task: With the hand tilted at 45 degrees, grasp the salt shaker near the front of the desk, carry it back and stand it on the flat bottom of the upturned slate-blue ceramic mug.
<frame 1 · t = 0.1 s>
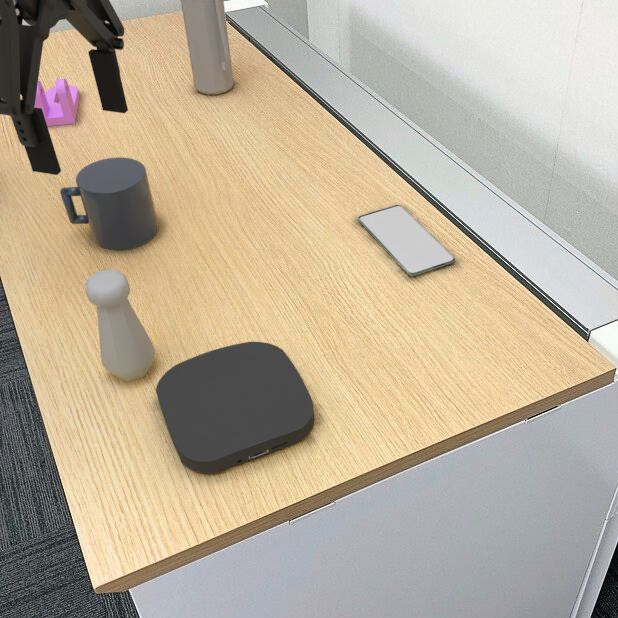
hand: (83, 139, 77), 22 cm above the table, tool pointing down, fingers open, 13 cm apart
mug: (126, 231, 103), on the table
media streaming box: (236, 412, 79), on the table
water bottle: (217, 90, 135), on the table
bracket: (62, 109, 130), on the table
salt shaker: (132, 369, 83), on the table
smartphone: (404, 241, 100), on the table
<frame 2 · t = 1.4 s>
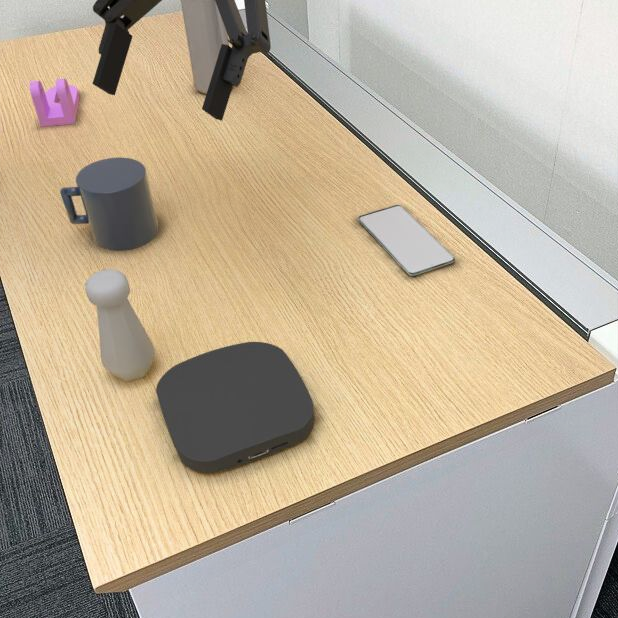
hand: (156, 102, 74), 26 cm above the table, tool tilted 45°, fingers open, 13 cm apart
nothing on the table moved.
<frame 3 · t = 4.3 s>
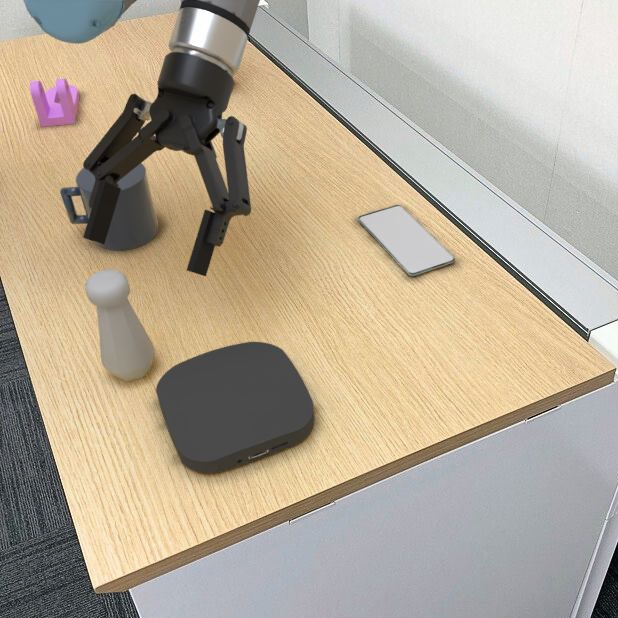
hand: (143, 257, 79), 12 cm above the table, tool tilted 45°, fingers open, 13 cm apart
nothing on the table moved.
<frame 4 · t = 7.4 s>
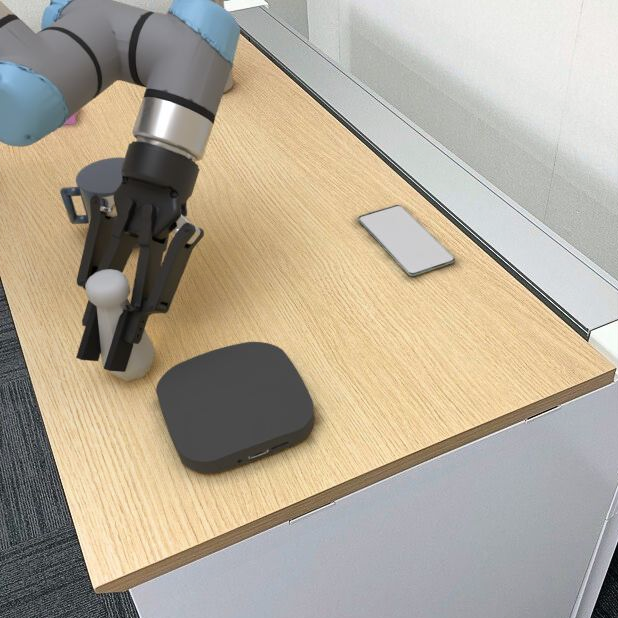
hand: (100, 364, 78), 4 cm above the table, tool tilted 45°, fingers closed on salt shaker, 3 cm apart
salt shaker: (132, 369, 83), on the table, touching gripper
everything else where it was.
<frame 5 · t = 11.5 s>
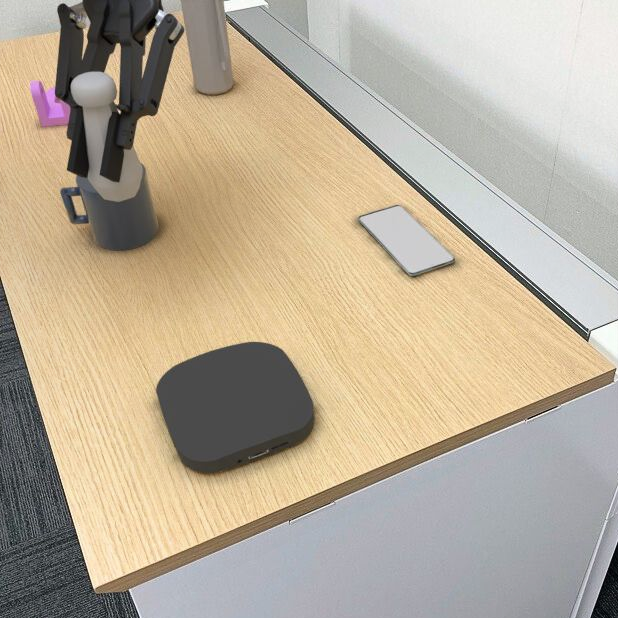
hand: (93, 176, 76), 20 cm above the table, tool tilted 45°, fingers closed on salt shaker, 3 cm apart
salt shaker: (120, 193, 81), point 15 cm above the table, touching gripper
everything else where it was.
when the fingers open (13 cm above the table, at t = 16.1 s): salt shaker stays where it is, resting on mug.
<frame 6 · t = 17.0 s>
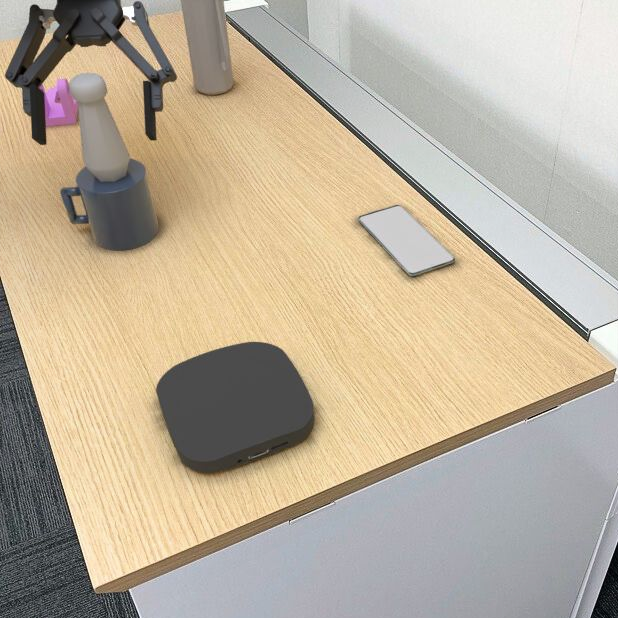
hand: (95, 139, 90), 15 cm above the table, tool tilted 45°, fingers open, 13 cm apart
salt shaker: (111, 175, 97), point 9 cm above the table, touching mug
everything else where it was.
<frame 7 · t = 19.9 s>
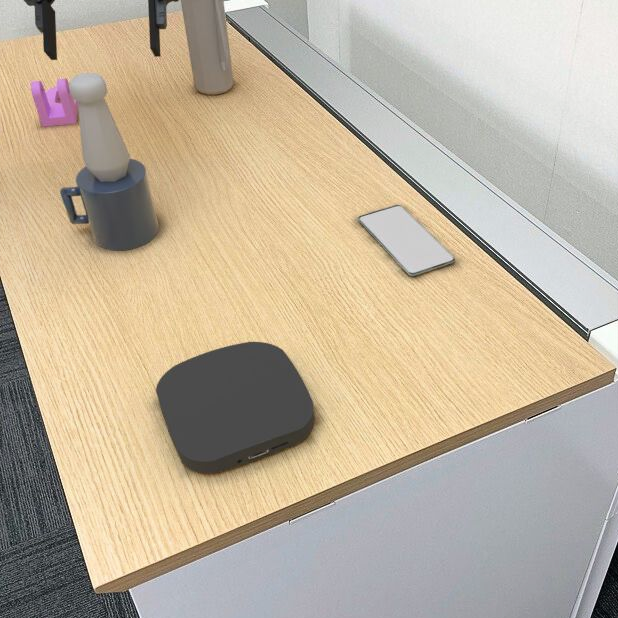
hand: (103, 54, 96), 20 cm above the table, tool tilted 45°, fingers open, 13 cm apart
nothing on the table moved.
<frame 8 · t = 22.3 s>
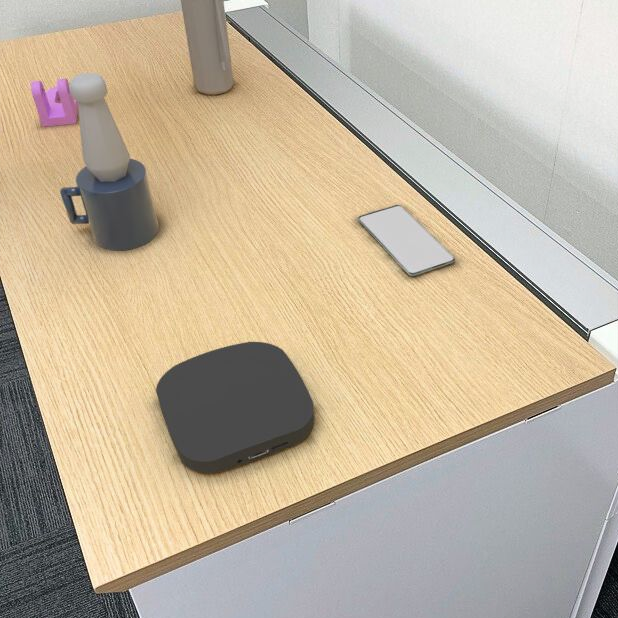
nothing on the table moved.
at the end: salt shaker 0.1 cm off-centre on the mug, point 8.8 cm above the mug's base; salt shaker tilted 0°; the gripper is holding nothing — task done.
